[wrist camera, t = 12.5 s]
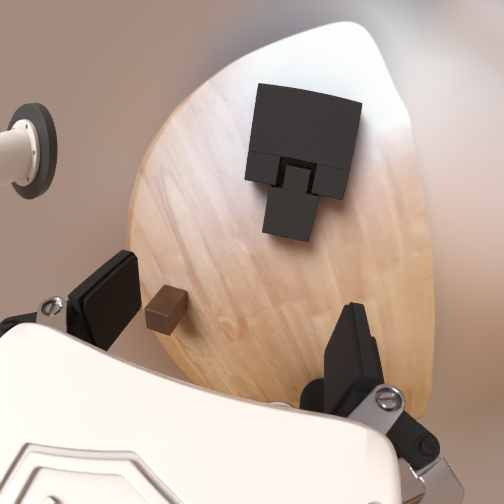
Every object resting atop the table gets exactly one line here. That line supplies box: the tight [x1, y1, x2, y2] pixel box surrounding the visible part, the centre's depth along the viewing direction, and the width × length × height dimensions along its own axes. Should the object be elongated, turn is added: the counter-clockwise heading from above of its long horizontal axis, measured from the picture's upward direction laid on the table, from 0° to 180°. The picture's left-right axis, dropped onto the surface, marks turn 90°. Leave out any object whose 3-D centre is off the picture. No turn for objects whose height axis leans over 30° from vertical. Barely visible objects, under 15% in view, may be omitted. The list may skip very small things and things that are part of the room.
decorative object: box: [299, 379, 324, 413], centre depth 34 cm, size 7×7×15 cm
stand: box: [144, 285, 187, 336], centre depth 36 cm, size 4×4×6 cm
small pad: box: [262, 163, 319, 242], centre depth 28 cm, size 7×5×2 cm
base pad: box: [245, 83, 362, 200], centre depth 25 cm, size 10×10×2 cm
